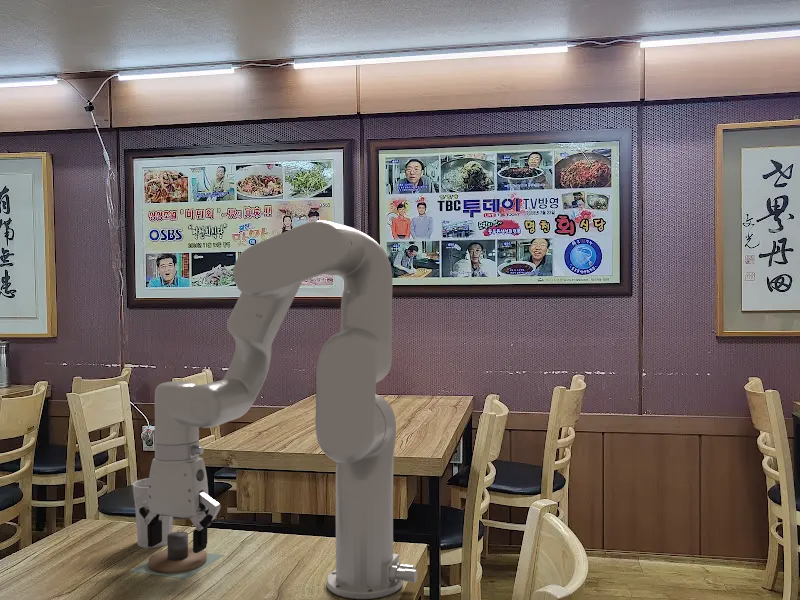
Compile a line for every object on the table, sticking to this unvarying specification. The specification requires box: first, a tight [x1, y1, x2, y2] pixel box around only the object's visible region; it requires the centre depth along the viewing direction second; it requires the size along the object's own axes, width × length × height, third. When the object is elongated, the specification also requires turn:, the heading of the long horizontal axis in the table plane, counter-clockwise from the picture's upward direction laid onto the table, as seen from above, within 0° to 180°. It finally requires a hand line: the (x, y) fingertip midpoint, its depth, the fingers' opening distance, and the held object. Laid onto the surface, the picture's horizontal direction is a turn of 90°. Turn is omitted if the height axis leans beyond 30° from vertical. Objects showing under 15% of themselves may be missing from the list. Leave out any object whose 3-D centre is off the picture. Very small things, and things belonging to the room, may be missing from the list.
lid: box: [147, 531, 208, 574], centre depth 126 cm, size 10×10×5 cm
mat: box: [129, 552, 224, 580], centre depth 126 cm, size 12×12×1 cm
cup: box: [132, 477, 174, 549], centre depth 137 cm, size 8×8×12 cm
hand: (177, 547), depth 126 cm, fingers open, 9 cm apart
